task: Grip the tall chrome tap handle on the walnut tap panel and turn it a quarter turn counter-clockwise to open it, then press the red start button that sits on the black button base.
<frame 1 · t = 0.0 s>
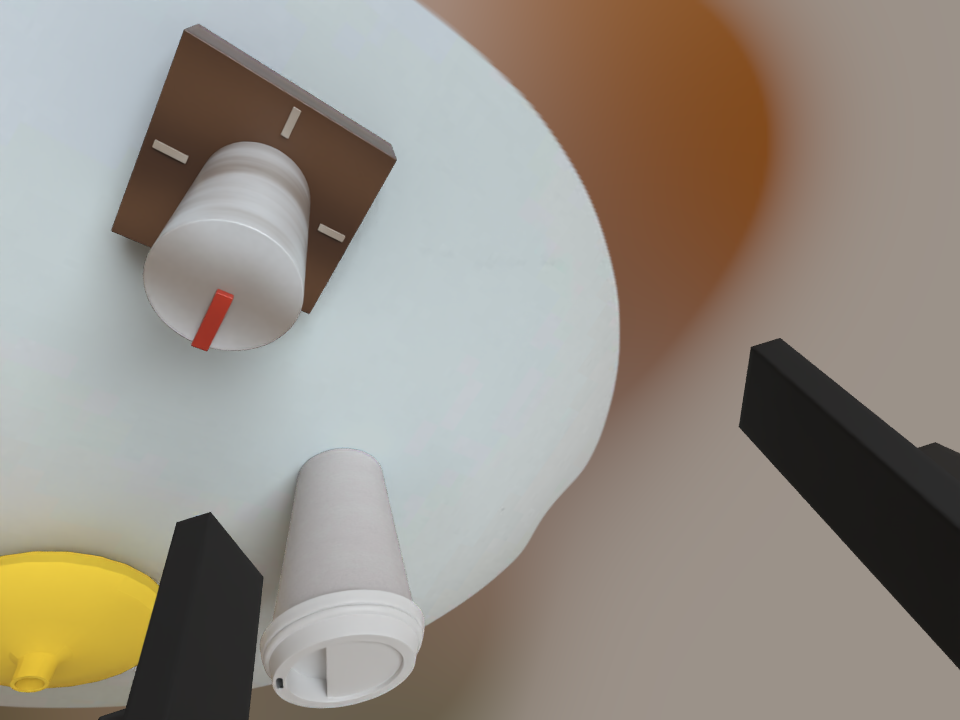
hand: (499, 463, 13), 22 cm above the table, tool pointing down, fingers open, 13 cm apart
yellow funnel lid: (69, 589, 43), on the table
coffee cup: (341, 476, 43), on the table
tap panel: (262, 176, 29), on the table
tap knob: (244, 235, 22), point 8 cm above the table, hinge at 0.0°
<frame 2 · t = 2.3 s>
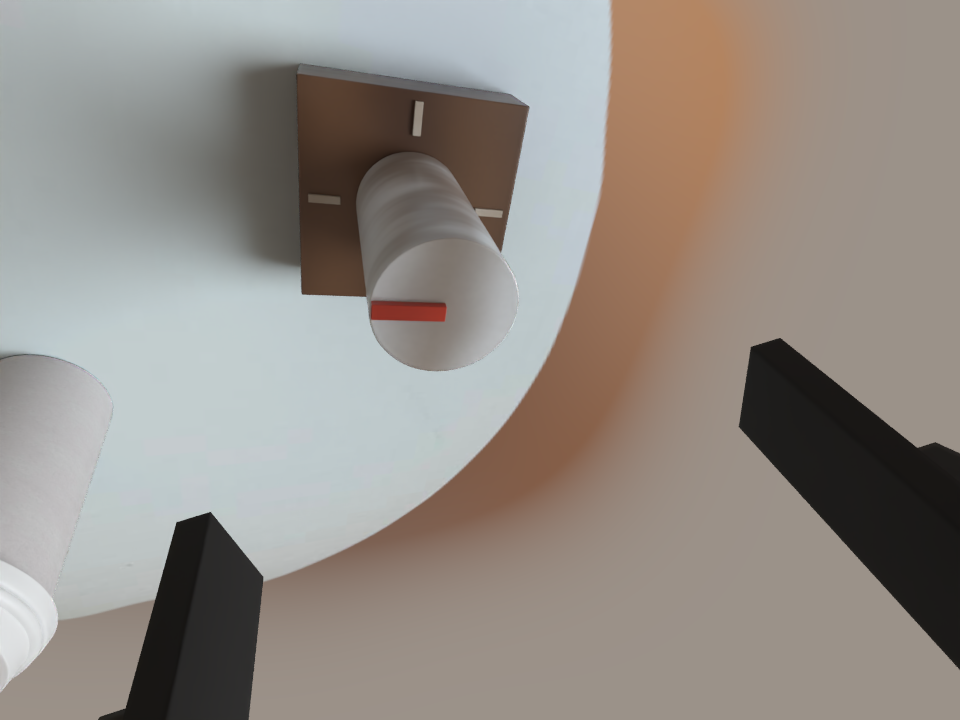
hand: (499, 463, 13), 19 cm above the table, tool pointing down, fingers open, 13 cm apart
coffee cup: (48, 399, 31), on the table
tap panel: (402, 185, 28), on the table
tap knob: (425, 250, 22), point 8 cm above the table, hinge at 0.0°
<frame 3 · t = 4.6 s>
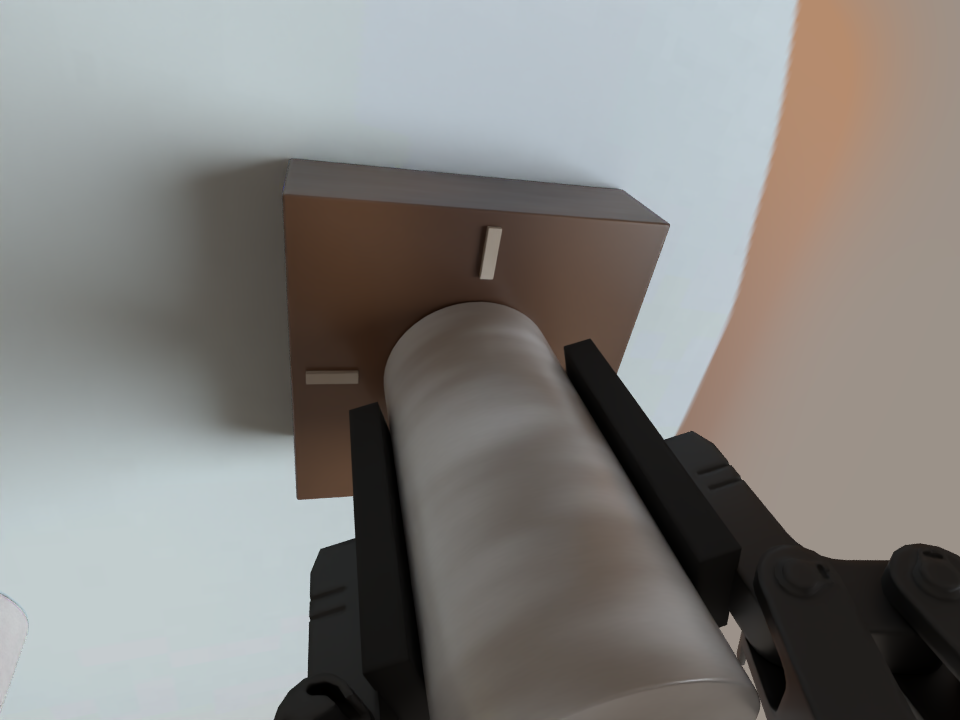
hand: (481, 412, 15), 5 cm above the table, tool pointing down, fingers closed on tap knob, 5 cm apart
tap panel: (449, 322, 18), on the table
tap knob: (517, 512, 12), point 8 cm above the table, hinge at 0.0°, touching gripper
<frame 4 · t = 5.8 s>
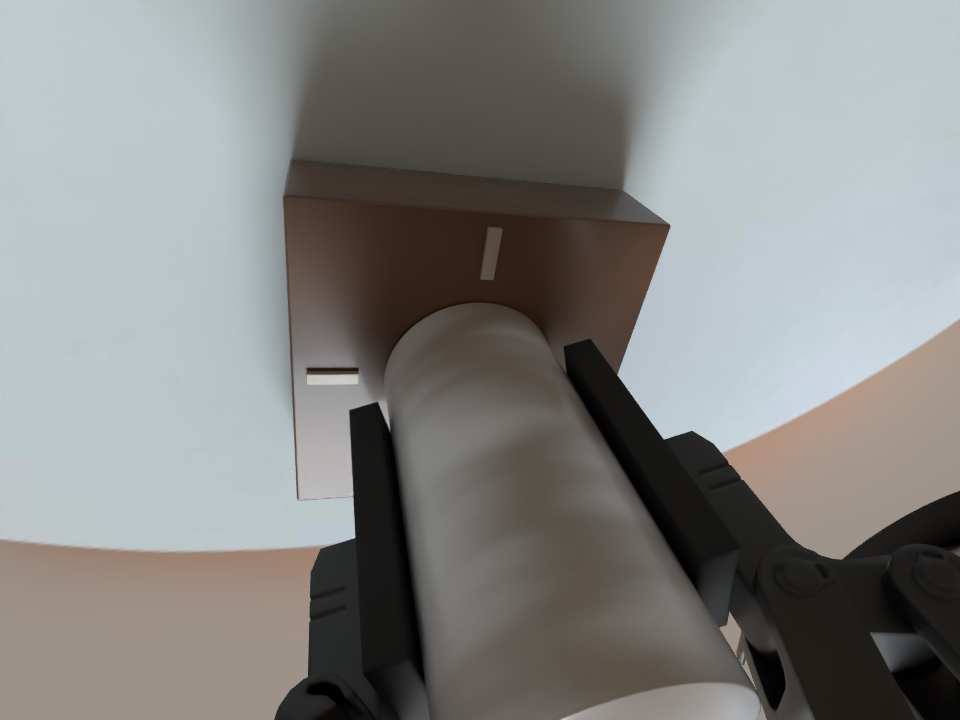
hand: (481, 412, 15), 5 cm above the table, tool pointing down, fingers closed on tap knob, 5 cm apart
tap panel: (450, 323, 18), on the table
tap knob: (517, 513, 12), point 8 cm above the table, hinge at 90.0°, touching gripper
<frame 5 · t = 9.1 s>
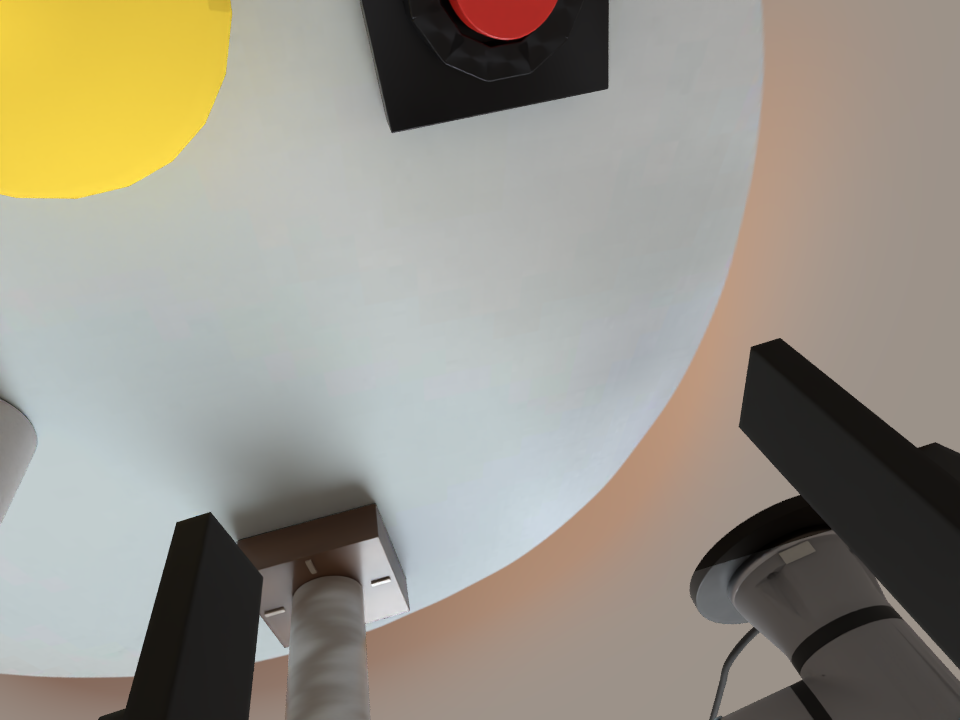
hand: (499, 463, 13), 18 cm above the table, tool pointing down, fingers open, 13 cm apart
tap panel: (328, 560, 42), on the table
tap knob: (328, 668, 35), point 8 cm above the table, hinge at 90.2°
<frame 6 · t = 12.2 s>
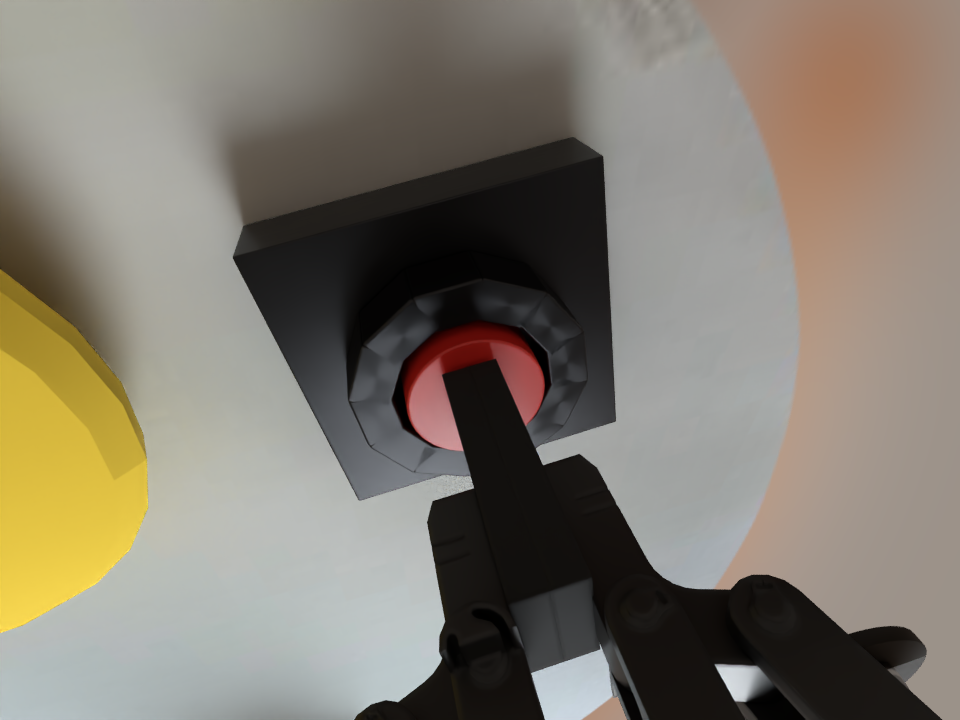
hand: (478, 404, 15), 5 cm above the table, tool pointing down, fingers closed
black button base: (449, 320, 19), on the table
start button: (471, 381, 16), point 4 cm above the table, slide at -0.8 cm, touching gripper
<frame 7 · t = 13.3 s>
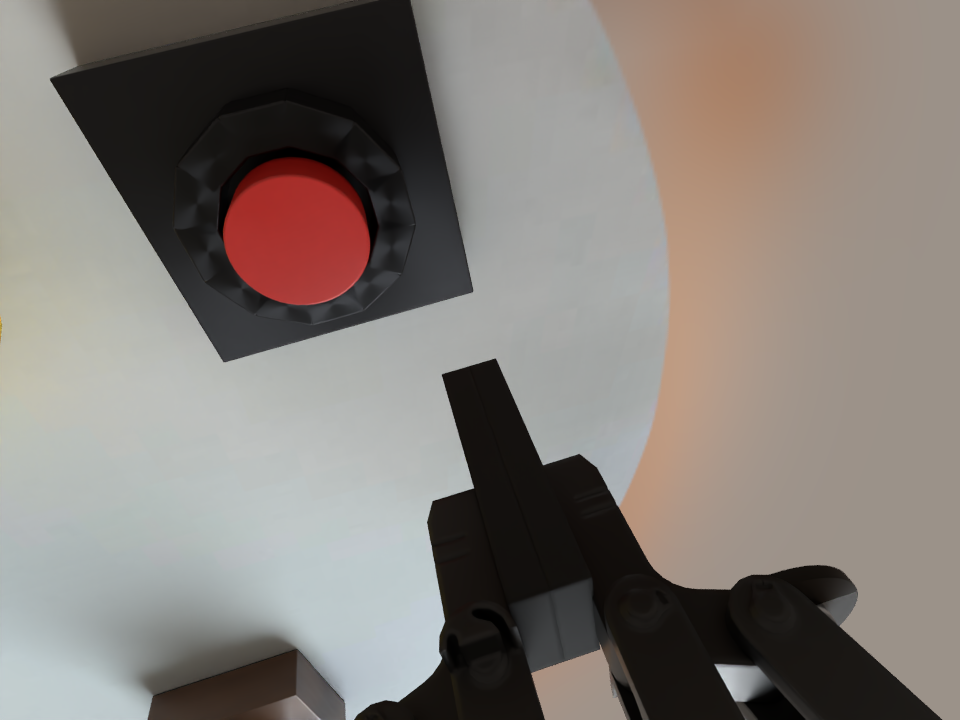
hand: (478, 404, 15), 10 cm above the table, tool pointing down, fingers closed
tap panel: (257, 699, 40), on the table
black button base: (303, 184, 20), on the table
start button: (300, 233, 16), point 4 cm above the table, slide at 0.1 cm
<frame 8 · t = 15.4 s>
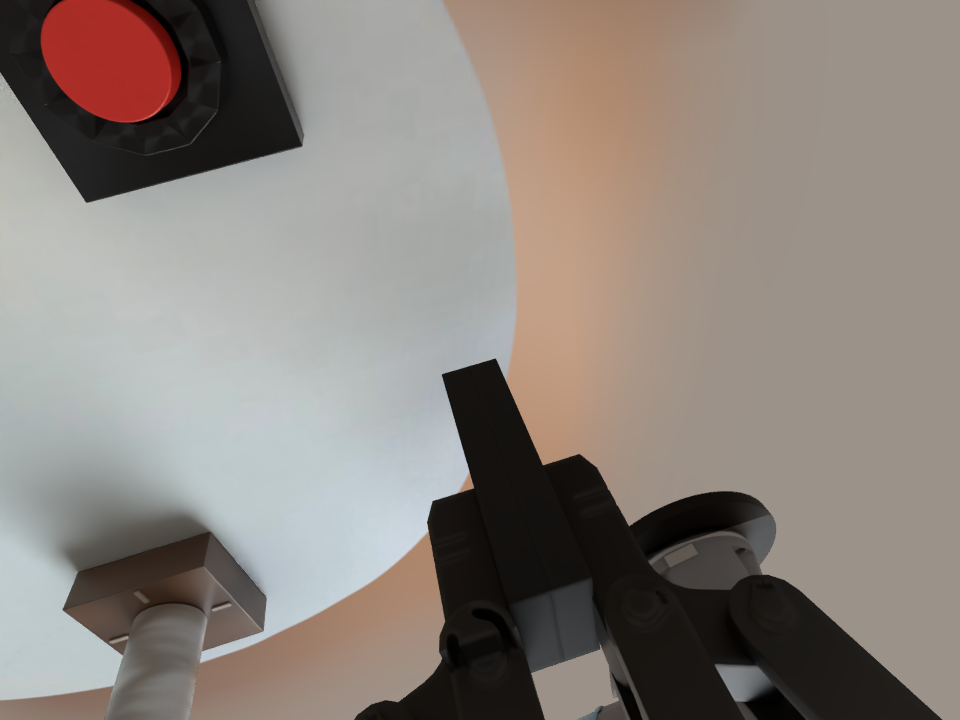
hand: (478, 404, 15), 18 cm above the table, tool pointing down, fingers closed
tap panel: (179, 586, 43), on the table
black button base: (147, 46, 23), on the table
tap knob: (153, 693, 37), point 8 cm above the table, hinge at 90.2°
start button: (115, 59, 20), point 4 cm above the table, slide at 0.1 cm
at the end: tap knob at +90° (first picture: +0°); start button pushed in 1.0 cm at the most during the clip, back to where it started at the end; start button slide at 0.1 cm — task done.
